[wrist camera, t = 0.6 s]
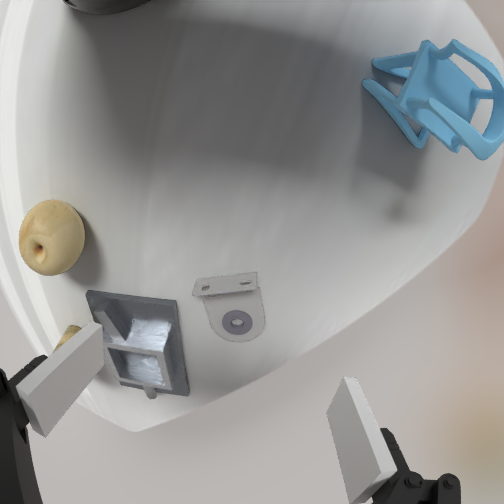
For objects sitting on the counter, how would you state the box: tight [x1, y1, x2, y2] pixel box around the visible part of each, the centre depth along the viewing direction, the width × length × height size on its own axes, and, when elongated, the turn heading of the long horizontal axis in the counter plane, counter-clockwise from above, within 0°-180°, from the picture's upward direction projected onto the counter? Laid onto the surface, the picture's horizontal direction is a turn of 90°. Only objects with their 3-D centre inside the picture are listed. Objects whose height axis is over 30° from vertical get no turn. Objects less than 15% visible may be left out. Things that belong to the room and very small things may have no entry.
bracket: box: [192, 272, 265, 342], centre depth 31 cm, size 6×10×4 cm, turn 9°
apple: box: [19, 200, 85, 276], centre depth 24 cm, size 8×8×8 cm
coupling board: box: [85, 290, 189, 399], centre depth 35 cm, size 20×12×4 cm, turn 176°
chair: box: [362, 39, 504, 160], centre depth 15 cm, size 8×8×12 cm
